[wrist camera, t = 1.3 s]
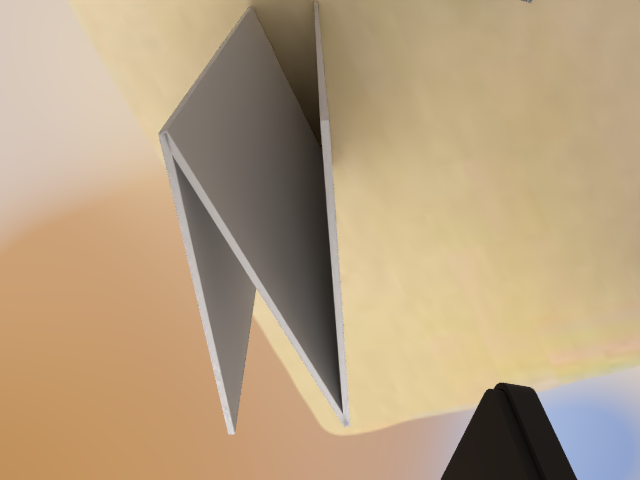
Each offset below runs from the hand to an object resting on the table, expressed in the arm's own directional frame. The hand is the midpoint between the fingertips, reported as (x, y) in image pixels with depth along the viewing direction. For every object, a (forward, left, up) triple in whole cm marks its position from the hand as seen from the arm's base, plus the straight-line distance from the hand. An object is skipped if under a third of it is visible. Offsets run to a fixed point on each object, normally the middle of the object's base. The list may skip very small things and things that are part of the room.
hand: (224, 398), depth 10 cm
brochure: (-1, +5, -40) cm, 41 cm away
